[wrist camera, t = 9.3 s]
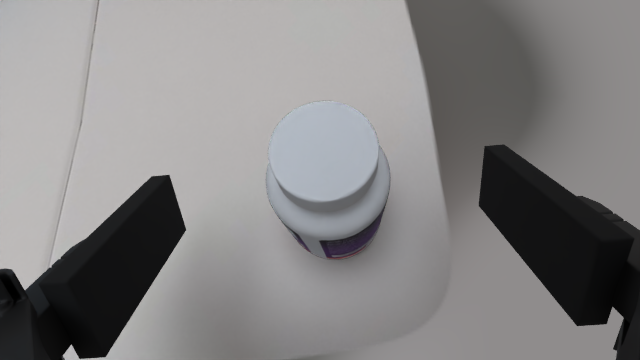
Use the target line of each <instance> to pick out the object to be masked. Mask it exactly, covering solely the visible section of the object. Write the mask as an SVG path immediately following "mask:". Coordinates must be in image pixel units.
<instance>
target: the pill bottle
mask: <svg viewBox="0 0 640 360" xmlns="http://www.w3.org/2000/svg"><path fill="white" fill-rule="evenodd" d="M268 159H269V164H268V167H267V173H266V189H267V195H268V198H269V201H270V203H271V206H272V208H273V209H274V211H275V213H276V214H277V216H278V217H279V219H280V220H281V221H282V222H283V224H284V225H285V226H286V227H287V229H288V230H289V231H290V232H291V234H292V235H293V236H294V237H295V239H296V240H297V241H298V242H299V243H300V245H301V246H302V247H304V248H305V249H306V250H307V251H309V252H310V253H312V254H314V255H316V256H318V257H321V258H325V259H334V260H337V259H345V258H349V257H351V256H354V255H356V254H358V253H359V252H361V251H362V250H363V249H365V248H366V247H367V246H368V245H369V244H370V242H371V241H372V240H373V238H374V236H375V234H376V233H377V230H378V228H379V224H380V221H381V217H382V214H383V211H384V208H385V205H386V202H387V198H388V194H389V188H390V169H389V164H388V161H387V158H386V156H385V154H384V152H383V150H382V148H381V147H380V145H379V142H378V138H377V135H376V132H375V130H374V128H373V126H372V125H371V123H370V122H369V120H368V119H367V118H366V117H365V116H364V115H363V114H362V113H361V112H359V111H357V110H356V109H354V108H353V107H350V106H348V105H346V104H343V103H339V102H334V101H317V102H312V103H308V104H305V105H302V106H300V107H298V108H296V109H294V110H293V111H291V112H290V113H288V114H287V115H286V116H285V117H284V118H283V119H282V120H281V121H280V122H279V124H278V125H277V126H276V128H275V130H274V132H273V134H272V136H271V139H270V143H269V148H268Z"/></svg>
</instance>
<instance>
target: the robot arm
mask: <svg viewBox="0 0 640 360" xmlns="http://www.w3.org/2000/svg"><path fill="white" fill-rule="evenodd" d="M479 206H480V208H481V209H482V210H483V211H484V212H485V214H486V215H487V216H488V217H489V219H490V220H491V221H492V222H493V223H494V225H495V226H496V227H497V229H498V230H499V231H500V232H501V233H502V235H503V236H504V237H505V238H506V240H507V241H508V242H509V243H510V244H511V246H512V247H513V248H514V249H515V251H516V252H517V253H518V254H519V255H520V256H521V258H522V259H523V260H524V262H525V263H526V264H527V265H528V266H529V268H530V269H531V270H532V271H533V273H534V274H535V275H536V276H537V277H538V279H539V280H540V281H541V282H542V284H543V285H544V286H545V287H546V288H547V290H548V291H549V292H550V293H551V295H552V296H553V297H554V298H555V300H556V301H557V302H558V303H559V304H560V306H561V307H562V308H563V309H564V311H565V312H566V313H567V314H568V315H569V316H570V318H571V319H572V320H573V322H574V323H575V324H576V325H577V326H585V325H600V324H607V321H608V318H609V315H610V312H611V309H612V306H613V307H614V308H615V309H616V310H617V311H618V312H619V313H620V314H621V315H622V316H623V317H624V319H623V322H622V325H621V328H620V331H619V334H618V337H617V339H616V342H615V345H614V348H613V349H614V350H617V357H616V360H640V230H638V229H637V228H635V227H634V226H633V225H631V224H630V223H628V222H627V221H623V219H622V218H621V217H619V216H618V215H616V214H613V212H612V211H611V210H609V209H608V208H606V207H605V206H603V205H602V204H600V203H598V202H596V201H593V200H591V199H588V198H586V197H583V196H575V195H574V194H572V193H571V192H569V191H568V190H566V189H565V188H564V187H562V186H561V185H559V184H558V183H557V182H556V181H554V180H553V179H551V178H550V177H549V176H547V175H546V174H544V173H543V172H541V171H540V170H539V169H537V168H536V167H535V166H533V165H532V164H530V163H529V162H528V161H526V160H525V159H523V158H522V157H521V156H519V155H518V154H516V153H515V152H514V151H512V150H511V149H509V148H508V147H507V146H505V145H494V146H485V149H484V158H483V169H482V178H481V189H480V198H479ZM185 231H186V228H185V225H184V221H183V218H182V215H181V211H180V208H179V205H178V202H177V198H176V195H175V192H174V189H173V185H172V182H171V179H170V176H169V175H163V176H152V177H151V178H150V179H149V180H148V181H147V182H145V183H144V184H143V185H142V186H141V187H140V188H139V189H138V190H137V191H136V192H135V193H134V194H133V195H132V196H131V197H130V198H129V199H128V200H126V201H125V202H124V203H123V204H122V205H121V206H120V207H119V208H118V209H117V210H116V211H115V212H114V213H113V214H112V215H111V216H110V217H108V218H107V219H106V220H105V221H104V222H103V223H102V224H101V225H100V226H99V227H98V228H97V229H96V230H95V231H94V232H93V233H92V234H91V235H89V236H88V237H87V238H86V239H84V240H83V241H81V242H80V243H78V244H76V245H75V246H73V247H71V248H70V249H69V250H68V251H67V252H66V253H65V254H64V255H63V256H62V257H61V259H58V260H57V261H56V262H55V263H54V264H53V265H52V268H49V269H48V270H47V271H46V272H44V273H43V274H42V275H41V276H40V277H39V278H38V279H37V280H36V281H35V282H34V283H33V284H32V285H30V286H29V287H28V288H27V289H26V290H24V289H23V287H22V285H21V284H20V282H19V280H18V278H17V277H16V275H15V273H14V272H13V270H11V269H0V360H65V359H64V358H63V354H64V353H65V352H66V350H67V349H68V348H69V347H70V345H71V344H72V346H73V348H74V350H75V351H76V353H77V355H78V357H79V359H84V358H99V357H106V355H107V354H108V352H109V351H110V349H111V347H112V346H113V344H114V343H115V341H116V340H117V338H118V336H119V335H120V333H121V332H122V330H123V329H124V327H125V325H126V324H127V322H128V321H129V319H130V317H131V316H132V314H133V313H134V311H135V310H136V308H137V306H138V305H139V303H140V302H141V300H142V299H143V297H144V295H145V294H146V292H147V291H148V289H149V288H150V286H151V284H152V283H153V281H154V280H155V278H156V277H157V275H158V273H159V272H160V270H161V269H162V267H163V266H164V264H165V262H166V261H167V259H168V258H169V256H170V255H171V253H172V251H173V250H174V248H175V247H176V245H177V243H178V242H179V240H180V239H181V237H182V236H183V234H184V232H185Z"/></svg>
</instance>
